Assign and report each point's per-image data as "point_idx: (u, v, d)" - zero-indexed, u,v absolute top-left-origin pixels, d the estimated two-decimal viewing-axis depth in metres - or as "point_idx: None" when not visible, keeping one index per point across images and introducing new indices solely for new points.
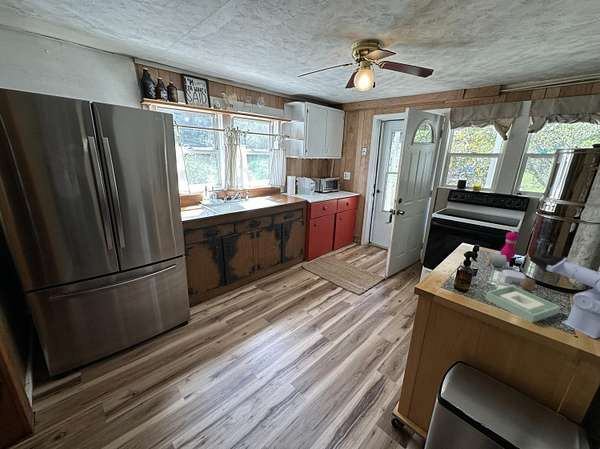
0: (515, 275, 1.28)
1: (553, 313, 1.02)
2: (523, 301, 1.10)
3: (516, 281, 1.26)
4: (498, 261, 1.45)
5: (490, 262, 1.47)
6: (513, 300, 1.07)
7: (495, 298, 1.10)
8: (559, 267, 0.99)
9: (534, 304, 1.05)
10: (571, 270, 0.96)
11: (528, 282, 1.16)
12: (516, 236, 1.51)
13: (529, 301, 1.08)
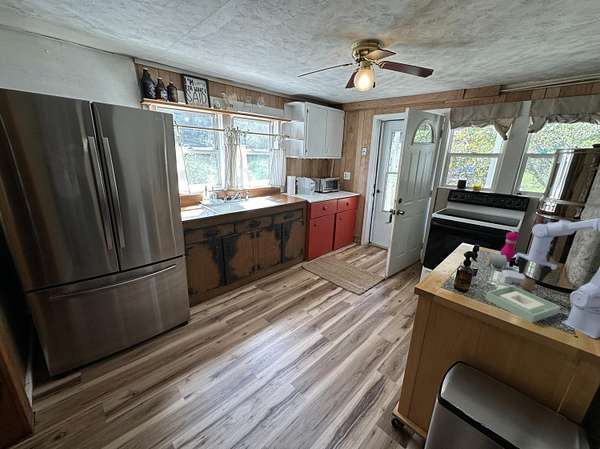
0: (515, 275, 1.28)
1: (553, 313, 1.02)
2: (523, 301, 1.10)
3: (516, 281, 1.26)
4: (498, 261, 1.44)
5: (490, 262, 1.46)
6: (513, 300, 1.07)
7: (495, 298, 1.10)
8: None
9: (534, 304, 1.05)
10: None
11: (528, 282, 1.16)
12: (516, 236, 1.51)
13: (529, 301, 1.08)
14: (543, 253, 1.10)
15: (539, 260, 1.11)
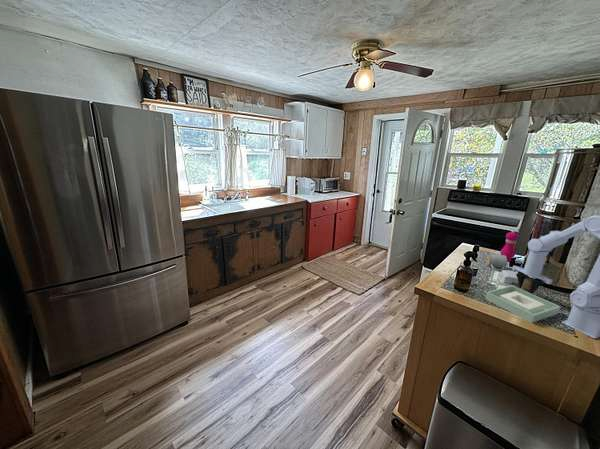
0: (514, 276, 1.27)
1: (553, 313, 1.02)
2: (523, 301, 1.10)
3: (515, 282, 1.26)
4: (498, 261, 1.44)
5: (490, 262, 1.46)
6: (513, 300, 1.07)
7: (495, 298, 1.10)
8: None
9: (534, 304, 1.05)
10: None
11: (528, 282, 1.16)
12: (516, 236, 1.51)
13: (529, 301, 1.08)
14: (538, 267, 1.12)
15: (535, 274, 1.13)
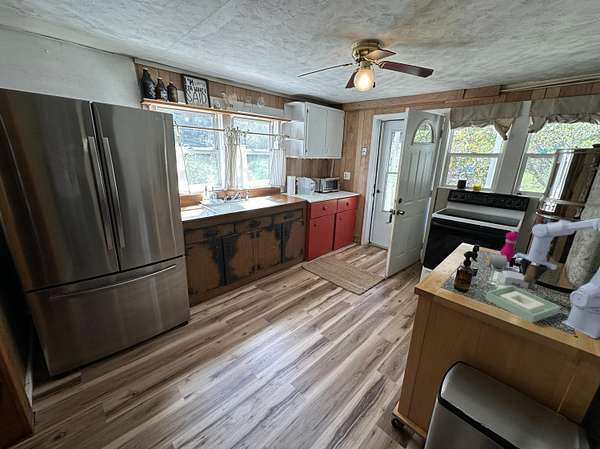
0: (515, 276, 1.27)
1: (553, 313, 1.02)
2: (523, 301, 1.10)
3: (516, 282, 1.25)
4: (498, 261, 1.44)
5: (490, 263, 1.46)
6: (513, 300, 1.07)
7: (495, 298, 1.10)
8: None
9: (534, 304, 1.05)
10: None
11: (532, 268, 1.14)
12: (516, 236, 1.51)
13: (529, 301, 1.08)
14: (543, 253, 1.10)
15: (539, 260, 1.11)
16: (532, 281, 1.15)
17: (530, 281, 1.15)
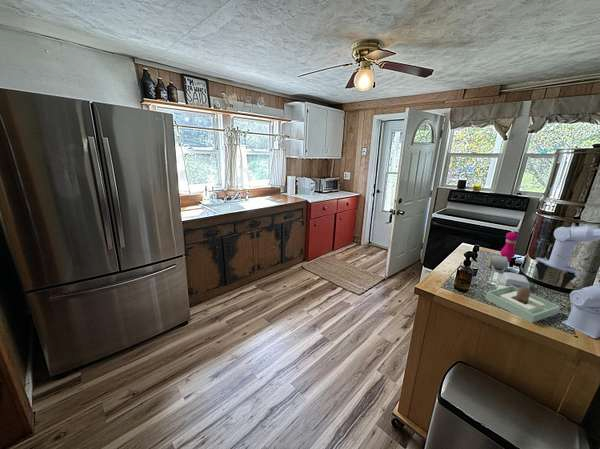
0: (516, 278, 1.25)
1: (553, 313, 1.02)
2: None
3: (517, 284, 1.23)
4: (499, 262, 1.42)
5: (491, 264, 1.44)
6: (513, 300, 1.07)
7: (495, 298, 1.10)
8: None
9: (534, 304, 1.05)
10: None
11: (523, 292, 1.05)
12: (516, 236, 1.51)
13: (529, 301, 1.08)
14: (566, 258, 1.02)
15: (561, 266, 1.03)
16: None
17: None
